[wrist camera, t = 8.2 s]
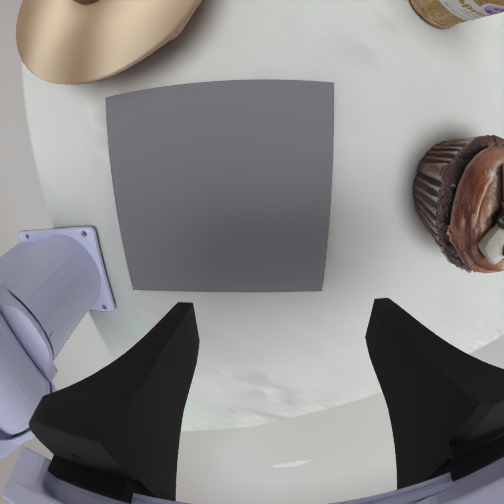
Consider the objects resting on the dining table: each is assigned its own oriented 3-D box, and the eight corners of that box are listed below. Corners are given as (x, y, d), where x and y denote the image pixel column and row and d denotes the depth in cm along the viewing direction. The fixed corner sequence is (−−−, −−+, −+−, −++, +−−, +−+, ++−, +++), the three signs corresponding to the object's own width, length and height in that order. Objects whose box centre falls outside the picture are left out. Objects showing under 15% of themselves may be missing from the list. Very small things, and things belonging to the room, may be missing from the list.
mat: (135, 285, 23) (133, 289, 23) (109, 97, 17) (105, 97, 16) (320, 286, 23) (322, 290, 22) (331, 83, 16) (333, 82, 16)
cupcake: (393, 242, 21) (459, 322, 12) (409, 115, 17) (508, 129, 8) (477, 245, 21) (545, 307, 12) (497, 141, 17) (584, 171, 8)
